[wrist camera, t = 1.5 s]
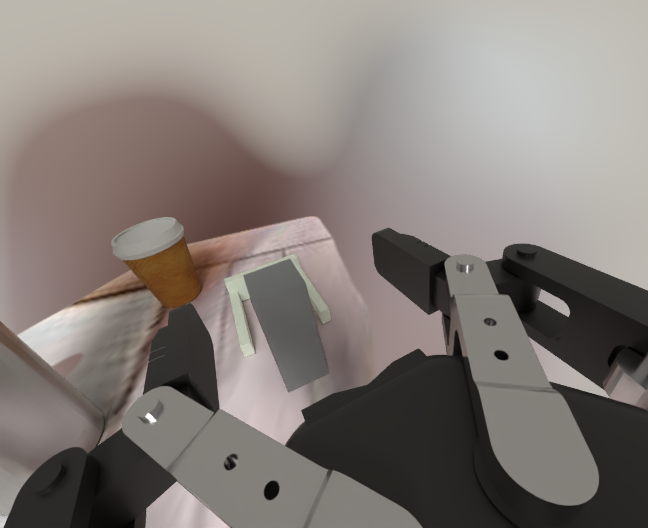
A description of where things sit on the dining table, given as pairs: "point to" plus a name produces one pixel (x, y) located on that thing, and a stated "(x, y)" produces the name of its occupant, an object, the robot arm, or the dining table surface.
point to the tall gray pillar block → (287, 322)
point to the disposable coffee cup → (160, 260)
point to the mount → (240, 294)
